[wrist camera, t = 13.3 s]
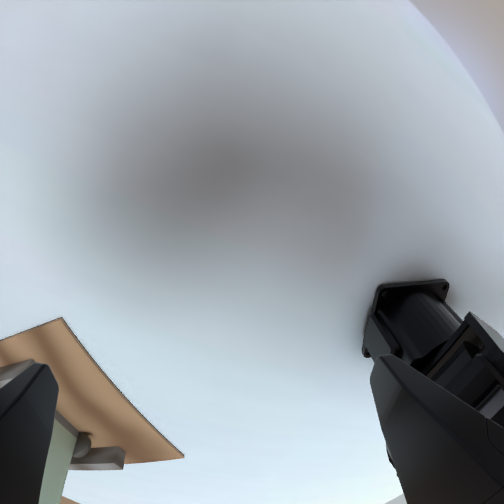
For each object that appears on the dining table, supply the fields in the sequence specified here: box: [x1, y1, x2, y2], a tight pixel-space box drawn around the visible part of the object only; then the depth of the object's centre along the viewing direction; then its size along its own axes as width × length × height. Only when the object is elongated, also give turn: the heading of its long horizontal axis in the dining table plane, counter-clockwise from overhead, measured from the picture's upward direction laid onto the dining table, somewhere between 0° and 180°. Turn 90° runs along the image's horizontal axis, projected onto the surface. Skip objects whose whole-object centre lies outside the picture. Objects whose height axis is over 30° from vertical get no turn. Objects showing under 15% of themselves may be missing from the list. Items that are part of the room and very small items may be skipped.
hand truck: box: [39, 410, 92, 504], centre depth 19 cm, size 6×7×13 cm
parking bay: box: [0, 317, 184, 470], centre depth 24 cm, size 22×20×3 cm
